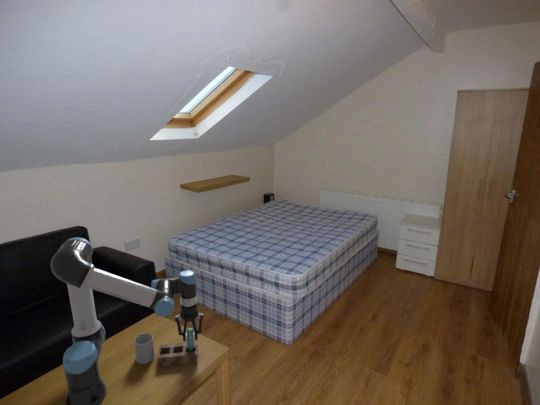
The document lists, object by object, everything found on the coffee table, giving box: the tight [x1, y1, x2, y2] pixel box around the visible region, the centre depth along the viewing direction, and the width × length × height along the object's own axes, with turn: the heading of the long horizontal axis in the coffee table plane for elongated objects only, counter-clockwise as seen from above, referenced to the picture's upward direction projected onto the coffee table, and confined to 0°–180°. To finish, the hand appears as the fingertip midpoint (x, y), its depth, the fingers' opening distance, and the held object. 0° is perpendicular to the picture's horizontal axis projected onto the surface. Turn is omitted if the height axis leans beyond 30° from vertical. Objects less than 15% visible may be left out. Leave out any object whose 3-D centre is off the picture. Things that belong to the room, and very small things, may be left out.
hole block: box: [157, 340, 199, 368], centre depth 162 cm, size 18×9×5 cm, turn 100°
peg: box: [186, 327, 194, 351], centre depth 162 cm, size 3×3×11 cm
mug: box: [133, 332, 155, 365], centre depth 163 cm, size 12×8×11 cm
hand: (190, 345), depth 162 cm, fingers closed on peg, 3 cm apart
